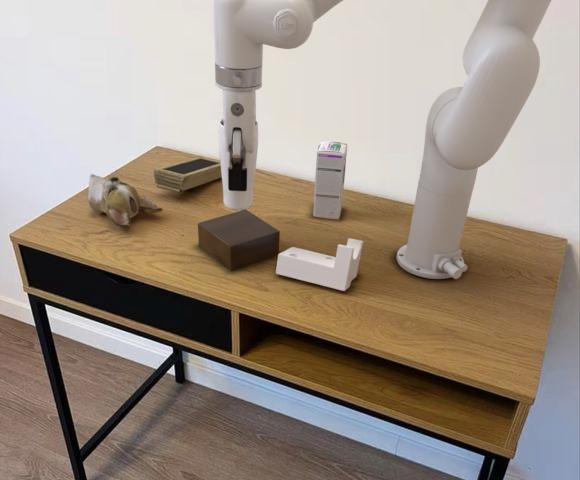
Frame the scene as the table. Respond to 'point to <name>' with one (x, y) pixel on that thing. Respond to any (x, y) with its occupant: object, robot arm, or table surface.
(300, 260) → the bracket
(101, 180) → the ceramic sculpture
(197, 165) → the box
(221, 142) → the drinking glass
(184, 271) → the table surface
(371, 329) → the table surface
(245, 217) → the walnut block
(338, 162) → the syrup box
